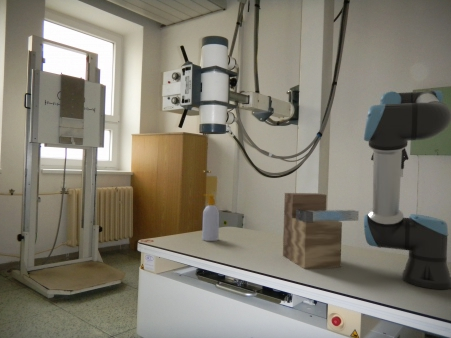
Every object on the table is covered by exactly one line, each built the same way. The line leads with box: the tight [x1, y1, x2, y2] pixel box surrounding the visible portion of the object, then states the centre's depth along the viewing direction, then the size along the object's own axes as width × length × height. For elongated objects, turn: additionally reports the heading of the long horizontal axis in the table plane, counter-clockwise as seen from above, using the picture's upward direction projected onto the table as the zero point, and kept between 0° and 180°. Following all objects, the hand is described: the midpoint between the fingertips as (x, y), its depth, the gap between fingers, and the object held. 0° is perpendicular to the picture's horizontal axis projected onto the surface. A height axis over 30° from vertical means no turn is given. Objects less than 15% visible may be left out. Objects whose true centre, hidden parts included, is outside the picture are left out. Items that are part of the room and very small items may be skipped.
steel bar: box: [296, 209, 360, 223], centre depth 142 cm, size 8×26×4 cm, turn 108°
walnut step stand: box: [282, 192, 343, 270], centre depth 145 cm, size 20×16×28 cm
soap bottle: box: [201, 193, 220, 242], centre depth 183 cm, size 9×9×24 cm
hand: (388, 176), depth 152 cm, fingers open, 13 cm apart
